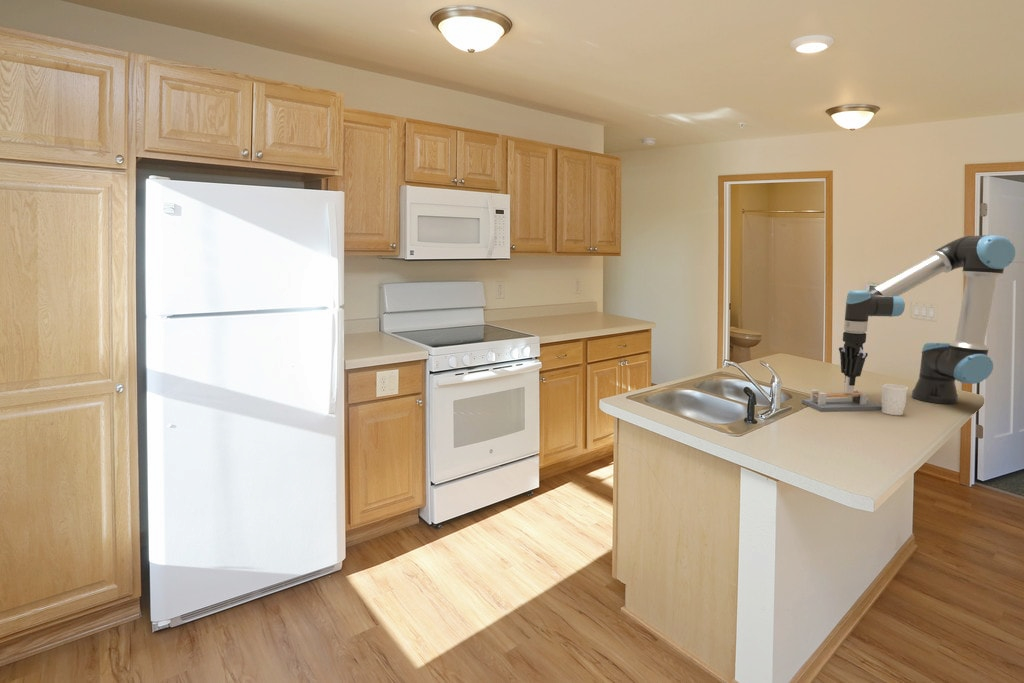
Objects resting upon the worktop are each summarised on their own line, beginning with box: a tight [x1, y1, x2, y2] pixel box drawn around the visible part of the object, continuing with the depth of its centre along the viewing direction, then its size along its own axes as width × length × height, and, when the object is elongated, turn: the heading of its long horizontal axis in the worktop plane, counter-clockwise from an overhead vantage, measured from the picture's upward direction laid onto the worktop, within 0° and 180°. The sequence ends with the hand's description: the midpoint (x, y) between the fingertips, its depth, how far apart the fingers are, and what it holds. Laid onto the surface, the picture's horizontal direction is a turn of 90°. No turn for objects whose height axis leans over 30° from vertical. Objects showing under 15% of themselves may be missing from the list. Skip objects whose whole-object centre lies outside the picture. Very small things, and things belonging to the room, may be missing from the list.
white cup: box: [880, 383, 909, 416], centre depth 212 cm, size 8×8×10 cm
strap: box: [813, 391, 865, 398], centre depth 220 cm, size 19×3×1 cm, turn 96°
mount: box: [801, 389, 882, 413], centre depth 220 cm, size 25×12×6 cm, turn 96°
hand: (848, 393), depth 220 cm, fingers closed
